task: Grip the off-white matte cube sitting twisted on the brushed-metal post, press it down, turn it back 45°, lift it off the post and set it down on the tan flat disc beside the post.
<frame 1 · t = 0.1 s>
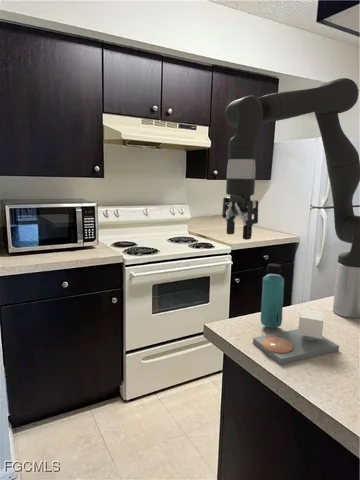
hand: (238, 236, 95), 29 cm above the counter, tool pointing down, fingers open, 8 cm apart
post board: (294, 346, 94), on the counter
beverage bottle: (270, 328, 105), on the counter
off-white matte cube: (310, 331, 95), point 3 cm above the counter, touching post board
tan flat disc: (277, 345, 91), resting on post board
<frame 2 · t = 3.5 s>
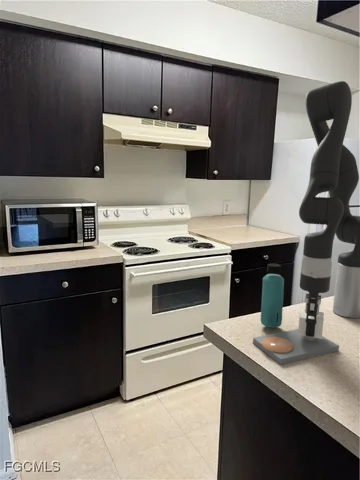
hand: (310, 330, 95), 4 cm above the counter, tool pointing down, fingers closed on off-white matte cube, 6 cm apart
off-white matte cube: (310, 331, 95), point 4 cm above the counter, touching gripper, post board
everything else where it was.
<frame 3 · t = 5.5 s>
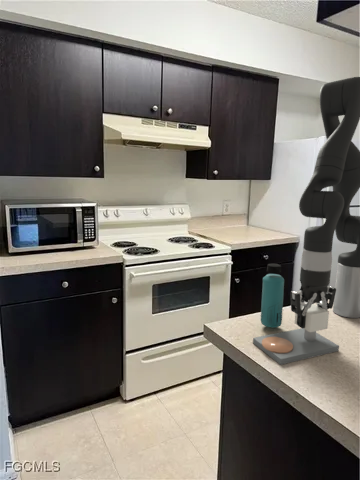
hand: (310, 325, 94), 6 cm above the counter, tool pointing down, fingers closed on off-white matte cube, 6 cm apart
off-white matte cube: (310, 326, 95), point 5 cm above the counter, touching gripper
everything else where it was.
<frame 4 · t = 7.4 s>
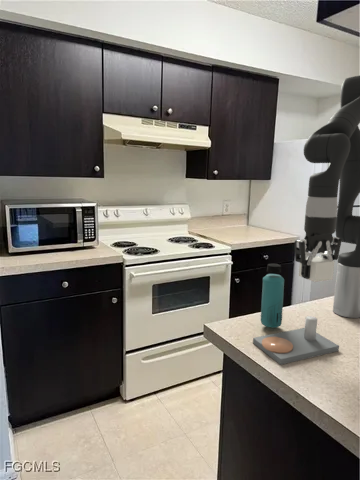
hand: (315, 276, 92), 19 cm above the counter, tool pointing down, fingers closed on off-white matte cube, 6 cm apart
off-white matte cube: (315, 277, 92), point 19 cm above the counter, touching gripper
everything else where it was.
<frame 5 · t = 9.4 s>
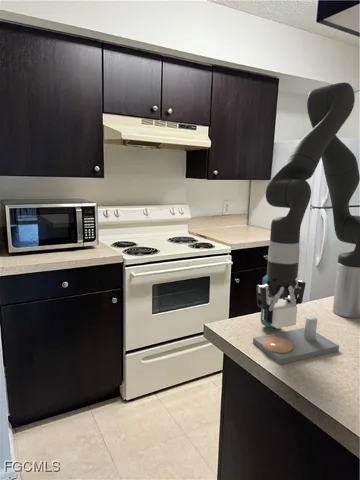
hand: (278, 320, 90), 8 cm above the counter, tool pointing down, fingers closed on off-white matte cube, 6 cm apart
off-white matte cube: (278, 322, 90), point 8 cm above the counter, touching gripper
everything else where it was.
when the fingers open (4 cm above the counter, at t = 11.2 s): off-white matte cube drops 2 cm, resting on tan flat disc.
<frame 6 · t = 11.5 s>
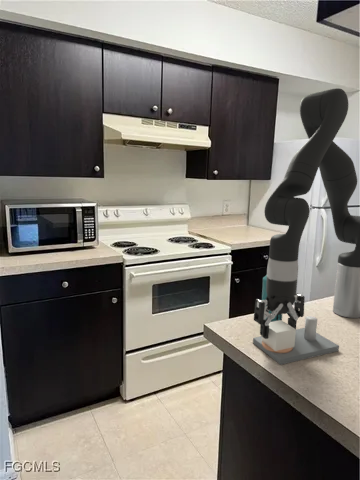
hand: (277, 334, 90), 5 cm above the counter, tool pointing down, fingers open, 8 cm apart
off-white matte cube: (277, 343, 91), point 2 cm above the counter, touching tan flat disc
everything else where it was.
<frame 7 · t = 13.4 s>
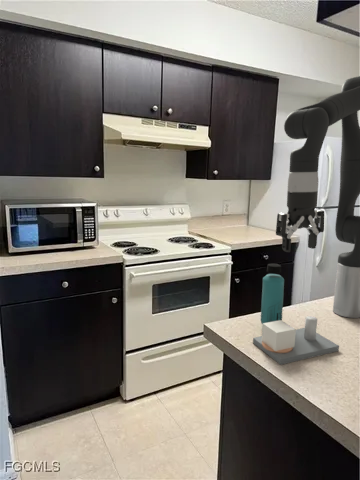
hand: (299, 249, 93), 26 cm above the counter, tool pointing down, fingers open, 8 cm apart
nothing on the counter moved.
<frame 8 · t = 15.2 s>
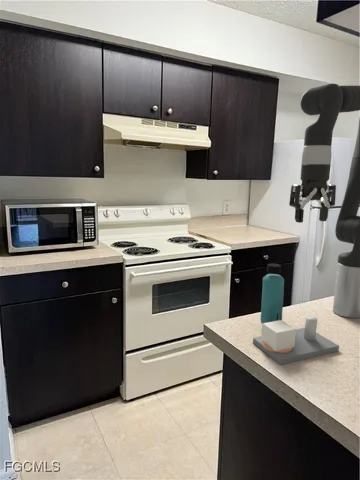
hand: (311, 221, 97), 33 cm above the counter, tool pointing down, fingers open, 8 cm apart
nothing on the counter moved.
at the end: off-white matte cube inside the target area (0.1 cm from its centre), point 2.0 cm above the counter; off-white matte cube tilted 0°; the gripper is holding nothing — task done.
